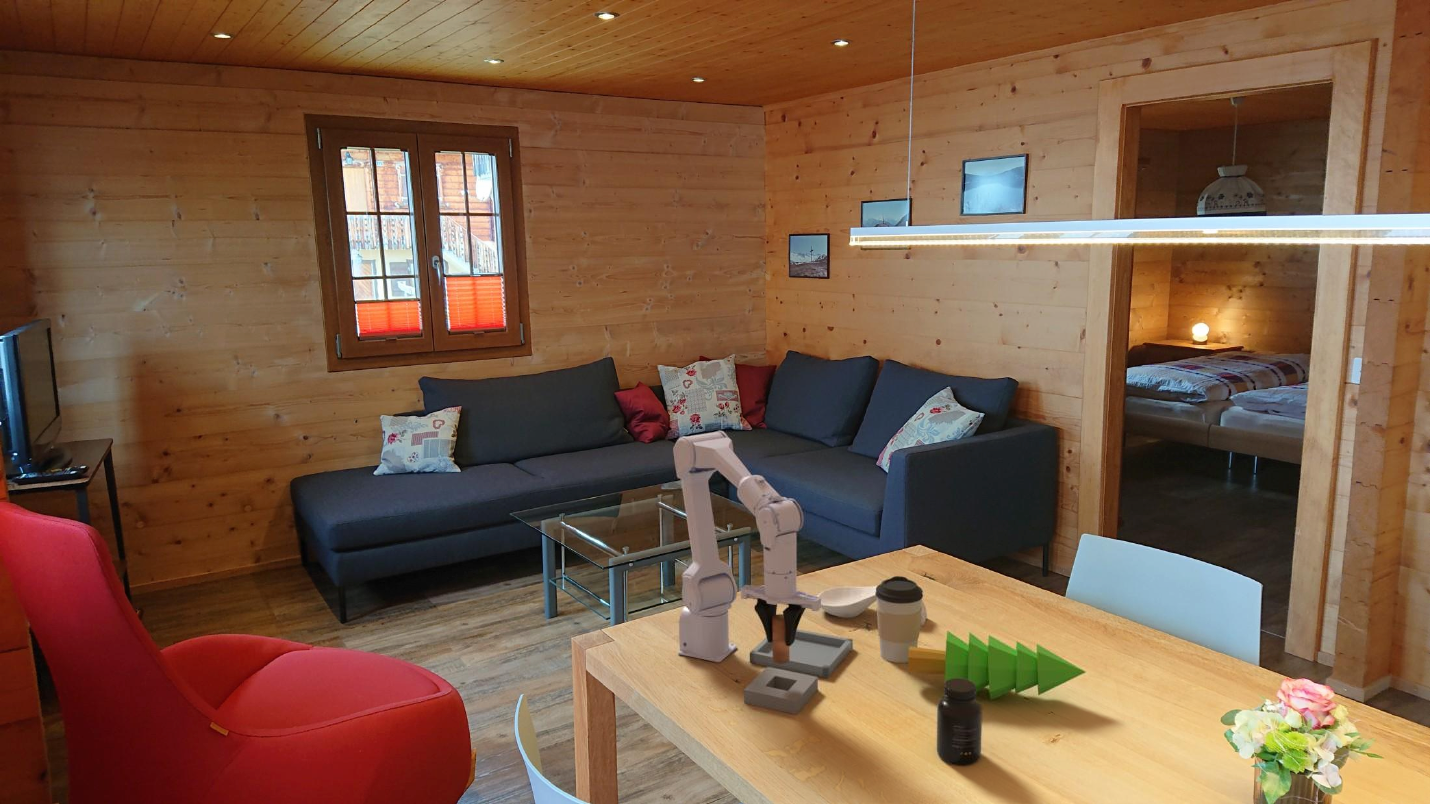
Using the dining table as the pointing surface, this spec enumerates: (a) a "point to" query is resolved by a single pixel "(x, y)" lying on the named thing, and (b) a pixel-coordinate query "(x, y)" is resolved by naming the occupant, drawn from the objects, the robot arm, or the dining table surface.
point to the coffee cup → (898, 617)
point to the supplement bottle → (959, 723)
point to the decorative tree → (994, 665)
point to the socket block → (781, 690)
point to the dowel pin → (779, 640)
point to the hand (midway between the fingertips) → (780, 641)
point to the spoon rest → (853, 601)
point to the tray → (807, 653)
